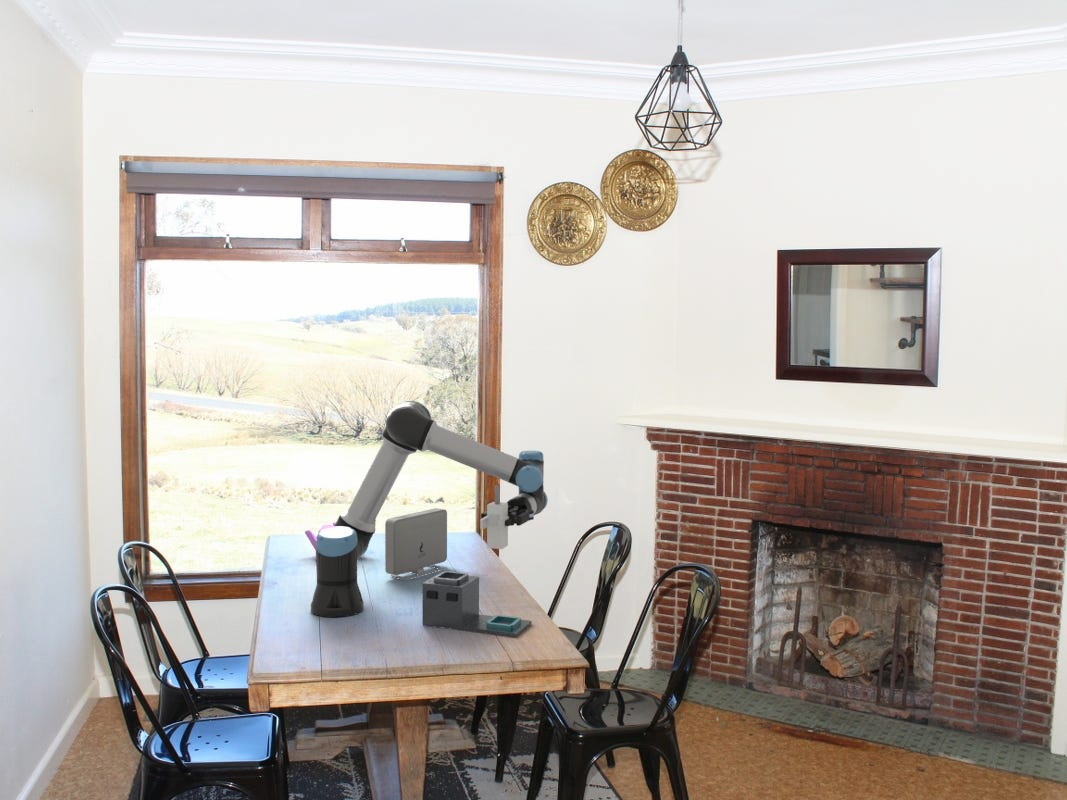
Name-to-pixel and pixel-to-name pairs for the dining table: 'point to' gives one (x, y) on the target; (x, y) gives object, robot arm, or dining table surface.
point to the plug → (496, 522)
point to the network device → (415, 542)
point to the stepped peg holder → (463, 607)
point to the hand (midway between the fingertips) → (490, 525)
